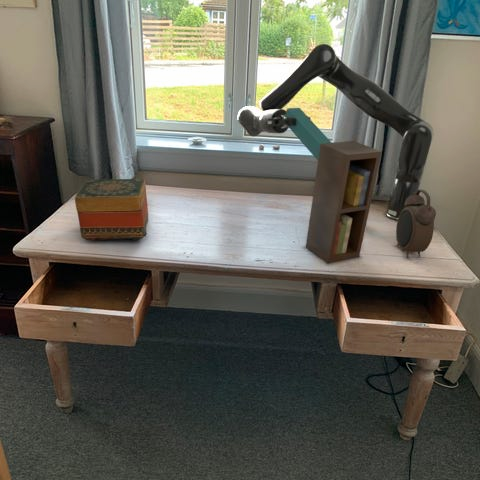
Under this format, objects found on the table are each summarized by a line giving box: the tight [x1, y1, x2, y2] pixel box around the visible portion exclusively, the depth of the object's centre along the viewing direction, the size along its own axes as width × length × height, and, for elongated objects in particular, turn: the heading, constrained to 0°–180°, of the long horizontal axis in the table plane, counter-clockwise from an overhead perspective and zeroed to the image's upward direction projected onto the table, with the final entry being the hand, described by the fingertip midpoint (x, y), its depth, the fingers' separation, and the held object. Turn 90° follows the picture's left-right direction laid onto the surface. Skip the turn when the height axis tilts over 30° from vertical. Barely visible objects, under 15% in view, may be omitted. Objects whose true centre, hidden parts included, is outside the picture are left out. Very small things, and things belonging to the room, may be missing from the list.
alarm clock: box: [395, 189, 437, 259], centre depth 148 cm, size 14×7×20 cm, turn 5°
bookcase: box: [305, 140, 383, 265], centre depth 142 cm, size 12×12×32 cm
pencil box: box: [285, 107, 333, 161], centre depth 147 cm, size 22×5×4 cm, turn 28°
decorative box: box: [74, 178, 149, 242], centre depth 149 cm, size 20×22×16 cm
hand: (302, 121), depth 149 cm, fingers closed on pencil box, 4 cm apart
